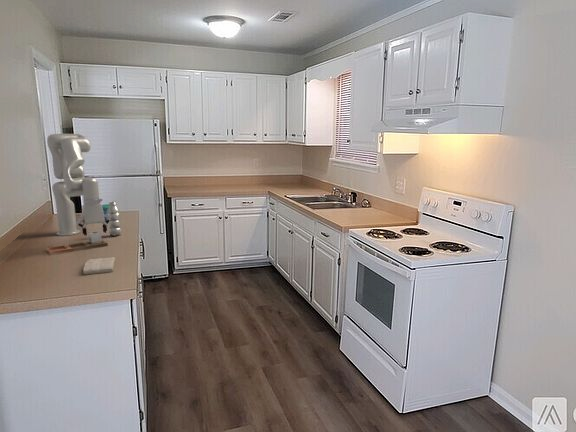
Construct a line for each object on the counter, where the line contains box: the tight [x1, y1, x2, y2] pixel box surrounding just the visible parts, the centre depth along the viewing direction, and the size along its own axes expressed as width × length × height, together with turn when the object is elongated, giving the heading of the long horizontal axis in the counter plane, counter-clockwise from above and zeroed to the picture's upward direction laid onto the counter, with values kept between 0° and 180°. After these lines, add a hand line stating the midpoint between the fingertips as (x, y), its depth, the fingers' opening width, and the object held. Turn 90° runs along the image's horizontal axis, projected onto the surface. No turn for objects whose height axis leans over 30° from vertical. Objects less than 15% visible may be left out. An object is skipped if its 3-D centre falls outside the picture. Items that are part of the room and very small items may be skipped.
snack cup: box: [101, 203, 110, 221], centre depth 287 cm, size 16×10×10 cm
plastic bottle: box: [107, 201, 122, 237], centre depth 237 cm, size 6×7×20 cm
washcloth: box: [83, 256, 116, 275], centre depth 179 cm, size 12×18×3 cm, turn 21°
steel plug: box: [88, 230, 103, 245], centre depth 217 cm, size 5×5×7 cm
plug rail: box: [45, 239, 109, 256], centre depth 212 cm, size 11×27×2 cm, turn 130°
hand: (95, 233), depth 216 cm, fingers open, 9 cm apart
